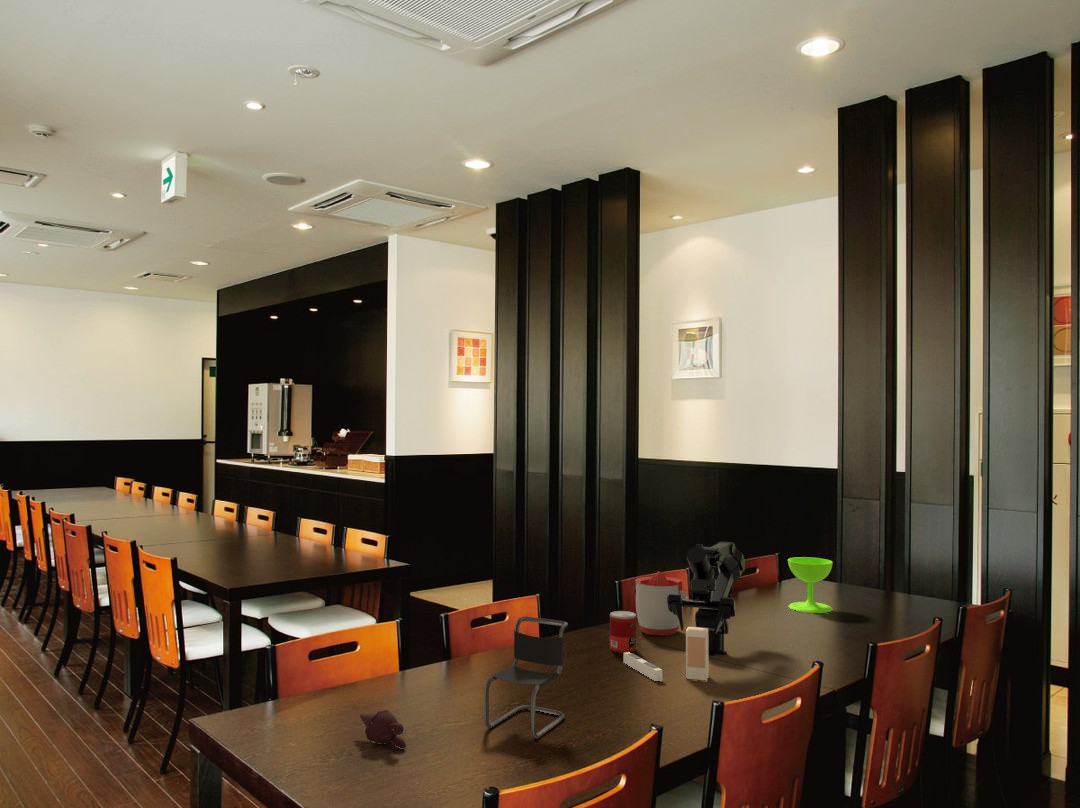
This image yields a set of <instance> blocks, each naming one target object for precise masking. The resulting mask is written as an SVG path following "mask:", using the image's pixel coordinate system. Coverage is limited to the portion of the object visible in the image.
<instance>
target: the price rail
mask: <svg viewBox="0 0 1080 808" xmlns="http://www.w3.org/2000/svg"><path fill="white" fill-rule="evenodd" d="M622 657H623V658H622V659H623V664H624V663H625V664H624V665H626V664H627V665H628V667H629V666H630V667H629V668H631V667H632V668H633V670H634V669H635V670H634V671H636V670H637V671H636V672H638V671H639V672H640V674H641V673H642V674H641V675H643V674H644V675H643V676H645V677H646V676H647V678H648V677H649V678H648V679H650V680H651V679H652V681H653V680H654V682H655V681H660V682H663V669H661V668H660V667H658V666H657V665H655V664H653V663H652V662H649V661H647V660H645V659H643V658H642V657H640V656H639V655H636V654H635V653H634V652H633V653H630V652H626V653H623V656H622ZM627 665H626V666H627ZM632 668H631V669H632ZM639 672H638V673H639Z"/></svg>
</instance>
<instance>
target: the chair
mask: <svg viewBox="0 0 1080 808" xmlns="http://www.w3.org/2000/svg"><path fill="white" fill-rule="evenodd" d="M522 622H530V623H537V624H544V625H552V626H559V627H560V628H559V630H558V637H540V636H534V635H529V634H526V633H522V632H520V625H521V623H522ZM568 626H569V624H568V622H567V621H563V620H557V619H556V620H555V619H549V618H548V619H547V618H540V617H533V616H526V615H525V616H520V617H518V618H517V620H516V621H515V624H514V629H513V662H512V663H511V664H510V665H509V666H507V667H505V668H503V669H502V670H499V671H498V672H496V673H494V674H492V675H490V676H489V677H488V679H486V682H485V685H484V692H483V693H484V694H483V695H484V696H483V697H484V698H483V699H484V700H483V701H484V704H483V705H484V708H483V709H484V711H483V714H484V715H483V716H484V717H483V719H484V720H483V721H484V725H485V727H487V729H493V728H495V727H496V726H498V725H499V724H501V723H503V722H504V721H506V720H507V719H509V718H510V716H511V715H512V716H514V715H515V714H517V713H518V711H519V712H521V711H520V710H522V711H524V710H523V709H528V710H527V711H530V718H529V719H530V723H529V725H530V727H529V728H530V734H531V736H532V738H534V739H539V738H541V737H542V736H544V735H546V733H548V732H549V731H550V730H552V729H553V728H554V727H556V726H557V725H558V724H560V723H561V722H563V721H565V718H566V716H565V714H564V713H563V712H562V711H559V710H555V709H550V708H546V707H545V708H544V707H540V706H536V699H537V693H538V691H539V690H541V689H542V688H544V687H545V686H547V685H549V684H550V683H552V682H554V681H555V680H557V679H558V678H560V676H561V674H562V671H563V668H564V632H565V629H566V628H567V627H568ZM519 660H520V661H524V662H528V663H532V664H533V663H534V664H539V665H544V666H557V669H556V672H540V671H534V670H530V669H525V668H521V667H518V666H517V665H518V663H519ZM495 680H502V681H504V682H508V683H514V684H519V685H529V686H530V685H533V686H534V687H533V688H532V690H531V693H530V705H528V704H527V705H526V704H525V705H524V704H523V705H520V706H519V705H518V706H517V707H515V708H513V709H512V710H510V711H508V712H506V713H505V714H503V715H501V716H500V717H498V718H496V719H495V720H494V721H492V722H491V721H490V689H491V688H490V687H491V684H492V682H494V681H495ZM536 711H540V712H539V713H541V712H544V713H543V714H546V713H549V714H548V715H551V714H554V715H553V716H556V715H558V716H557V718H556V719H555V720H553V721H552V722H550V723H548V725H546V726H544V727H543V728H542V729H540V730H539V731H537V732H536ZM516 712H517V713H516ZM513 714H514V715H513ZM512 716H511V717H512ZM508 717H509V718H508ZM505 719H506V720H505ZM503 720H504V721H503ZM502 721H503V722H502ZM500 722H501V723H500ZM497 724H498V725H497ZM495 725H496V726H495ZM494 726H495V727H494ZM492 727H493V728H492Z"/></svg>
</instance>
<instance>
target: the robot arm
mask: <svg viewBox="0 0 1080 808" xmlns="http://www.w3.org/2000/svg"><path fill="white" fill-rule="evenodd" d="M685 555H686V560H687V563H688V565H689V567H690V570H691V572H692V573H693V578H691V580H690V591H689V592H690V593H689V594H690V595H689V596H690V599H684V598H682V594H669V595H668V596H667V604H668V609H669V611H670V612H673V614H674V615H677V617H678V619H679V622H680V623H679V627H680V631H684V607H686V608H696V609H697V608H698V609H697V610H696V612H695V614H694V620H695V621H694V622H695V627H698V628H708V656H710V655H711V656H715V655H714V654H719V655H723V654H724V653H727V654H728V651H726V650H725V635H729V630H730V628H729V622H728V620H730V619H731V618H734V617H735V616H736V601H735V599H734V598H733V597H728V596H729V593H730V590H731V588H732V586H733V584H734V583H733V582H734V581H736V580H737V579H740V578H741V576H742V575H743V572H744V571H745V570H746V560H745V557H744V554H743V553H742V552H741V551H740V550H739V549H738V548H737V547H736V544H735V543H733V542H732V541H731V542H730V541H729V542H728V541H719V542H717V543H716V544H714V545H712V546H704V545H703V544H700V543H699V544H698V543H697V544H695V547H694V546H693V547H692V548H690V549H688V551H687V552H686V554H685ZM714 568H717V569H718V575H717V578H714V577H715V570H714ZM724 655H725V654H724Z"/></svg>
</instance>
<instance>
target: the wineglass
mask: <svg viewBox="0 0 1080 808" xmlns="http://www.w3.org/2000/svg"><path fill="white" fill-rule="evenodd" d="M787 563H788V566H789V570H790V572H791V573H792V574H793V575H794V576H795V578H797V579H798V580H800V581H803V582H805V583H807V599H806V601H795V602H791V603H790V604H789V605H788V606H787V607H789V608H790V609H793V610H796V611H801V612H810V613H825V612H830V611H832V610H833V611H834V609H833V608H832V606H830V605H827V604H825V603H820V602H815V600H814V585H813V584H814V583H817V582H818V583H819V582H821V581H823V580H824V579H826V578H827V577H828V576H829V574H831V571H832V568H833V561H832V560H830V559H825V558H821V557H810V556H809V557H806V556H802V557H798V556H797V557H789V558H788V559H787ZM789 608H788V609H789ZM790 609H789V610H790ZM793 610H792V611H793ZM796 611H795V612H796ZM801 612H800V613H801Z"/></svg>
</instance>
